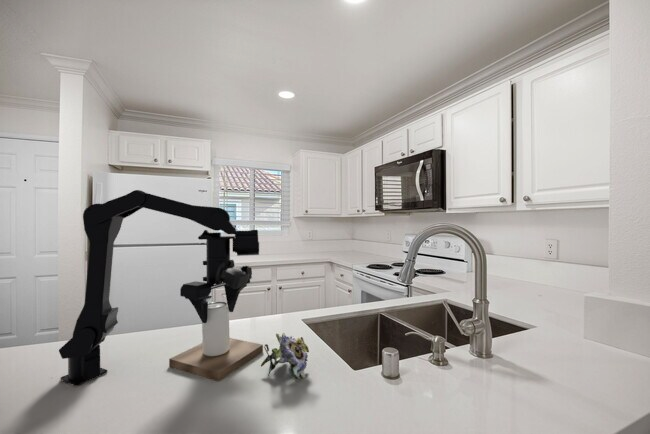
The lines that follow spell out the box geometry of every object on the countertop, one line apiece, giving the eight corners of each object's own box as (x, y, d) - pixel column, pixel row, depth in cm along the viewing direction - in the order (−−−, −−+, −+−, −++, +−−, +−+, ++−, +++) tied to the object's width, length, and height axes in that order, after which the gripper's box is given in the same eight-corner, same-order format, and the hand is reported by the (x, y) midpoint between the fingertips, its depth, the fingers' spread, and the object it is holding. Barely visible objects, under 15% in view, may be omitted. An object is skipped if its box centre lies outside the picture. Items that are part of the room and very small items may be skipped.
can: (219, 358, 72) (218, 309, 72) (197, 356, 74) (195, 308, 74) (234, 347, 78) (233, 301, 78) (213, 344, 80) (212, 300, 80)
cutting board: (169, 367, 72) (169, 358, 72) (218, 342, 87) (218, 335, 87) (218, 381, 65) (218, 372, 65) (262, 352, 80) (262, 344, 80)
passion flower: (301, 401, 67) (308, 374, 60) (253, 393, 67) (255, 365, 60) (307, 354, 76) (314, 326, 70) (265, 347, 76) (268, 319, 69)
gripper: (214, 263, 64) (214, 335, 64) (265, 253, 81) (266, 310, 81) (178, 260, 69) (178, 327, 69) (234, 252, 86) (234, 305, 86)
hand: (218, 317), depth 76 cm, fingers open, 9 cm apart
